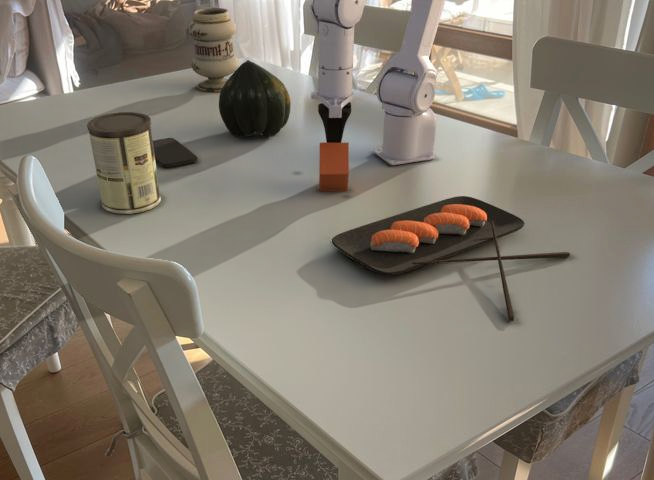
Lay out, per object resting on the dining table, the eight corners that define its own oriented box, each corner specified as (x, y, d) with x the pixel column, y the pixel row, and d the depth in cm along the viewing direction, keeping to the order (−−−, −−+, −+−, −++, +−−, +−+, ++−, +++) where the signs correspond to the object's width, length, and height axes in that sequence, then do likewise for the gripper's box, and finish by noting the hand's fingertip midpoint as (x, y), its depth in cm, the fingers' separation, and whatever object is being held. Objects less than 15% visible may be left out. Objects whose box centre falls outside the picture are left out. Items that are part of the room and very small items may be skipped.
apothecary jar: (188, 92, 179) (180, 15, 169) (199, 80, 189) (193, 6, 179) (234, 93, 177) (230, 15, 167) (244, 81, 187) (240, 6, 177)
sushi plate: (463, 203, 120) (465, 181, 117) (619, 274, 99) (626, 249, 96) (322, 249, 107) (323, 226, 105) (467, 341, 86) (472, 315, 84)
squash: (272, 124, 140) (284, 52, 141) (202, 121, 144) (214, 51, 145) (290, 152, 153) (301, 86, 154) (226, 150, 157) (237, 85, 159)
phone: (172, 136, 149) (199, 157, 138) (173, 140, 150) (199, 161, 138) (138, 143, 146) (163, 164, 135) (139, 147, 147) (163, 169, 136)
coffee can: (119, 188, 129) (107, 109, 121) (170, 194, 126) (161, 114, 118) (89, 210, 121) (74, 128, 113) (143, 217, 118) (131, 133, 110)
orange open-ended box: (347, 190, 125) (348, 173, 121) (319, 190, 126) (319, 173, 121) (347, 160, 128) (348, 142, 123) (319, 160, 128) (319, 142, 123)
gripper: (312, 55, 123) (311, 133, 131) (310, 77, 111) (310, 161, 119) (352, 55, 123) (350, 133, 131) (355, 77, 111) (352, 161, 119)
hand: (333, 146), depth 125 cm, fingers closed
